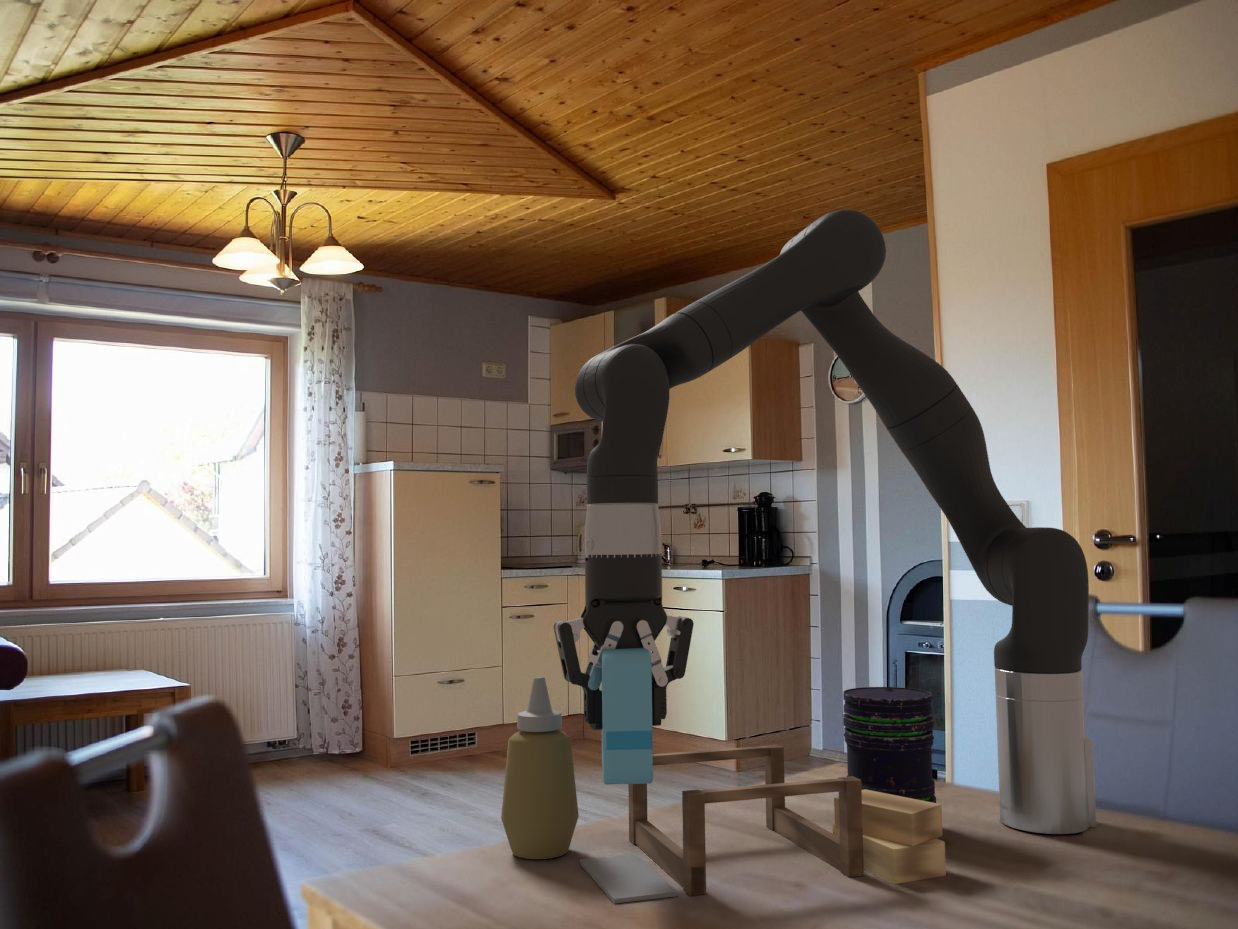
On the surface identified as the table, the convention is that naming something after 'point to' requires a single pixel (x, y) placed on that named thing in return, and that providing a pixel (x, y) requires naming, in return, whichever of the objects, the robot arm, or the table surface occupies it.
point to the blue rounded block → (627, 716)
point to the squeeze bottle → (539, 782)
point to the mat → (627, 878)
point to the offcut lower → (902, 859)
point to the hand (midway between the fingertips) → (625, 725)
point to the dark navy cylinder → (890, 740)
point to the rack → (827, 846)
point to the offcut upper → (897, 818)
